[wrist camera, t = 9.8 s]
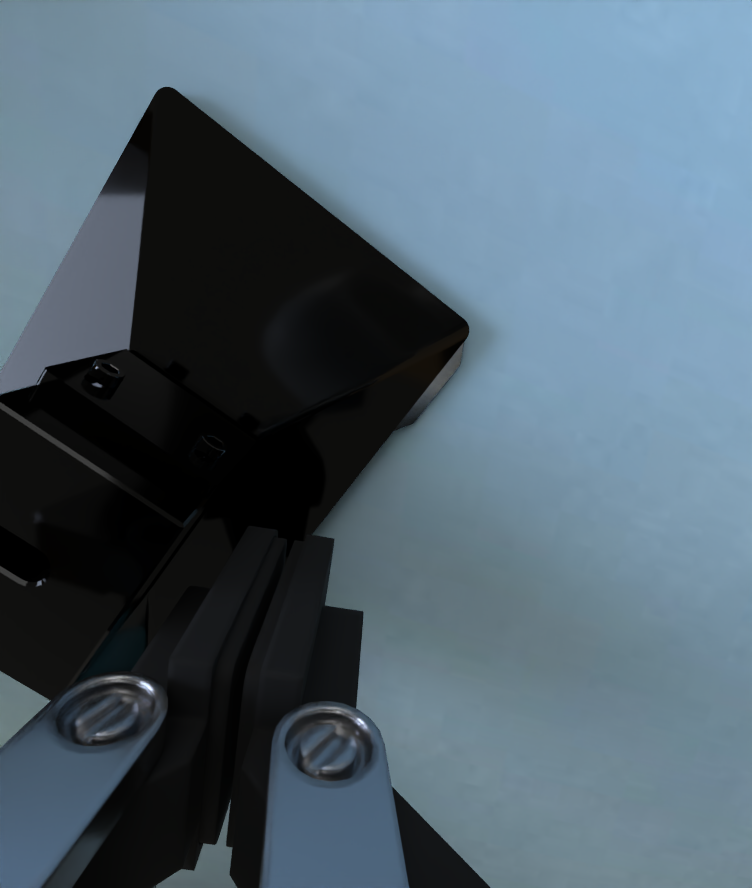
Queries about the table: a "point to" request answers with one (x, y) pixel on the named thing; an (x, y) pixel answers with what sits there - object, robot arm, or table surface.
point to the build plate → (191, 392)
